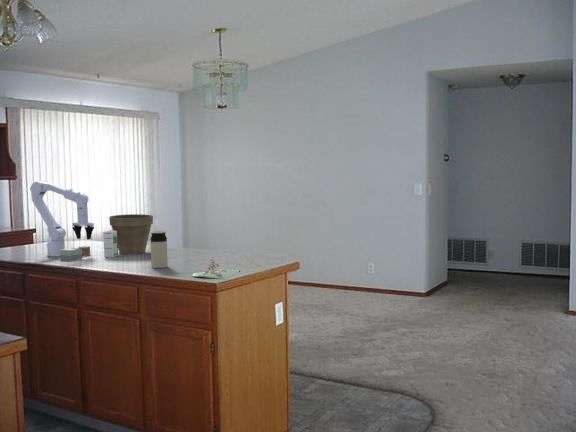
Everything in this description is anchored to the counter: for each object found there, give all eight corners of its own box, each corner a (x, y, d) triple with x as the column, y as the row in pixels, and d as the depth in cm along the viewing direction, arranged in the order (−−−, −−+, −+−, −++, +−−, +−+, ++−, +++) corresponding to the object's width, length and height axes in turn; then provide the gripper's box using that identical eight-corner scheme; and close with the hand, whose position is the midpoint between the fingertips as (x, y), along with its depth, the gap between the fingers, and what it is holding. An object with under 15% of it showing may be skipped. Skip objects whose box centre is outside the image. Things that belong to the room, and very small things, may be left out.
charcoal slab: (60, 260, 346) (60, 255, 346) (71, 258, 353) (71, 253, 353) (71, 261, 343) (71, 256, 342) (82, 259, 350) (81, 253, 349)
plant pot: (161, 252, 366) (159, 215, 364) (119, 257, 352) (118, 218, 350) (144, 248, 387) (143, 213, 385) (104, 252, 373) (103, 215, 371)
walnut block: (78, 255, 361) (78, 247, 361) (84, 254, 365) (83, 246, 365) (84, 256, 359) (84, 247, 359) (90, 255, 363) (89, 246, 363)
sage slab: (60, 255, 346) (60, 249, 346) (71, 253, 353) (71, 247, 353) (70, 255, 342) (70, 250, 342) (82, 254, 349) (81, 248, 349)
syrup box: (113, 257, 353) (112, 231, 351) (103, 257, 354) (102, 231, 353) (118, 255, 358) (117, 230, 357) (108, 255, 359) (107, 230, 358)
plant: (217, 269, 309) (217, 251, 308) (251, 272, 298) (251, 253, 297) (182, 277, 288) (182, 258, 288) (217, 281, 277) (217, 261, 276)
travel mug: (168, 267, 313) (167, 231, 311) (152, 269, 310) (150, 232, 309) (166, 265, 320) (165, 230, 319) (150, 266, 318) (149, 231, 316)
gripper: (97, 214, 360) (98, 238, 362) (78, 214, 367) (79, 237, 368) (88, 216, 354) (89, 240, 355) (69, 215, 361) (70, 239, 362)
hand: (83, 239), depth 361 cm, fingers open, 7 cm apart
